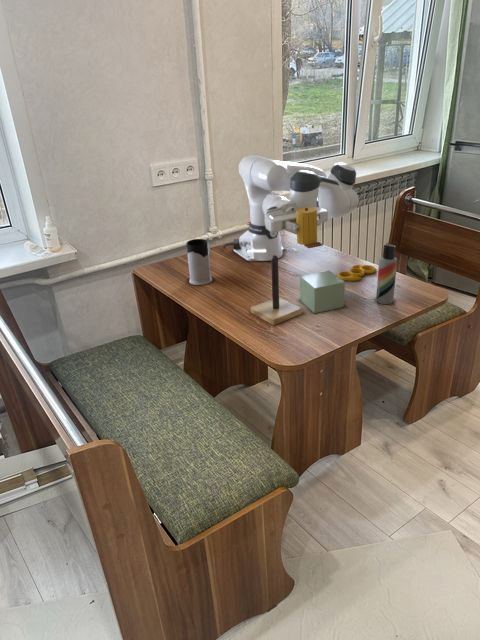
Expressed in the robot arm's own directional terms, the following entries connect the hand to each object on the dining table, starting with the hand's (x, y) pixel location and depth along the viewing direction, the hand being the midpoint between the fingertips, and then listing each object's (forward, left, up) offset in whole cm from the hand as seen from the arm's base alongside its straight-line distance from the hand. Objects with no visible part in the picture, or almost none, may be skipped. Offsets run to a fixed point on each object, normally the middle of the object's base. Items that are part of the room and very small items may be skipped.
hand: (307, 225), depth 163 cm
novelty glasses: (-8, +33, -29) cm, 44 cm away
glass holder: (-46, -11, -29) cm, 55 cm away
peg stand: (-4, -10, -28) cm, 30 cm away
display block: (+1, +6, -28) cm, 29 cm away
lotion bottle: (+14, +23, -29) cm, 39 cm away
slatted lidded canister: (+1, 0, -5) cm, 6 cm away
